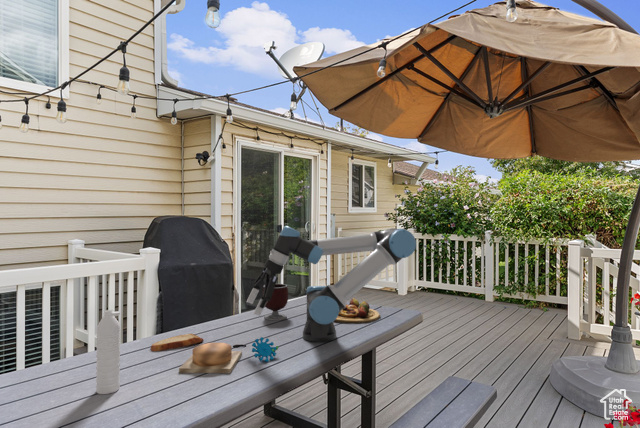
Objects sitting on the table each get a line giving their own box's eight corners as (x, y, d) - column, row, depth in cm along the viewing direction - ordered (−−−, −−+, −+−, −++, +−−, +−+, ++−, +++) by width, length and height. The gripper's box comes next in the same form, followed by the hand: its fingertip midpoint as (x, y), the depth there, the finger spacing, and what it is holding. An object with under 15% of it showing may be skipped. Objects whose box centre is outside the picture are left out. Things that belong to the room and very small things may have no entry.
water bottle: (92, 391, 124) (92, 311, 124) (113, 384, 129) (113, 307, 129) (106, 398, 119) (106, 314, 119) (127, 390, 124) (127, 310, 124)
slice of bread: (146, 351, 161) (146, 342, 161) (169, 338, 179) (169, 330, 179) (187, 354, 159) (187, 344, 159) (206, 340, 176) (206, 331, 176)
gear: (255, 361, 145) (250, 336, 152) (249, 369, 148) (245, 344, 155) (282, 359, 151) (276, 336, 158) (276, 367, 154) (270, 343, 161)
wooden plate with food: (311, 320, 209) (312, 305, 209) (333, 307, 239) (333, 293, 239) (370, 328, 197) (371, 311, 197) (385, 313, 226) (386, 298, 226)
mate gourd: (269, 313, 224) (269, 277, 224) (292, 315, 219) (292, 279, 219) (256, 320, 209) (256, 282, 209) (280, 322, 204) (280, 283, 205)
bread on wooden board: (241, 355, 156) (241, 341, 156) (230, 373, 138) (230, 357, 138) (196, 354, 157) (196, 340, 157) (179, 372, 139) (179, 356, 139)
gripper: (260, 251, 174) (238, 295, 173) (276, 266, 151) (251, 316, 150) (275, 258, 177) (254, 301, 176) (293, 273, 154) (268, 322, 153)
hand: (252, 308), depth 163 cm, fingers open, 13 cm apart
